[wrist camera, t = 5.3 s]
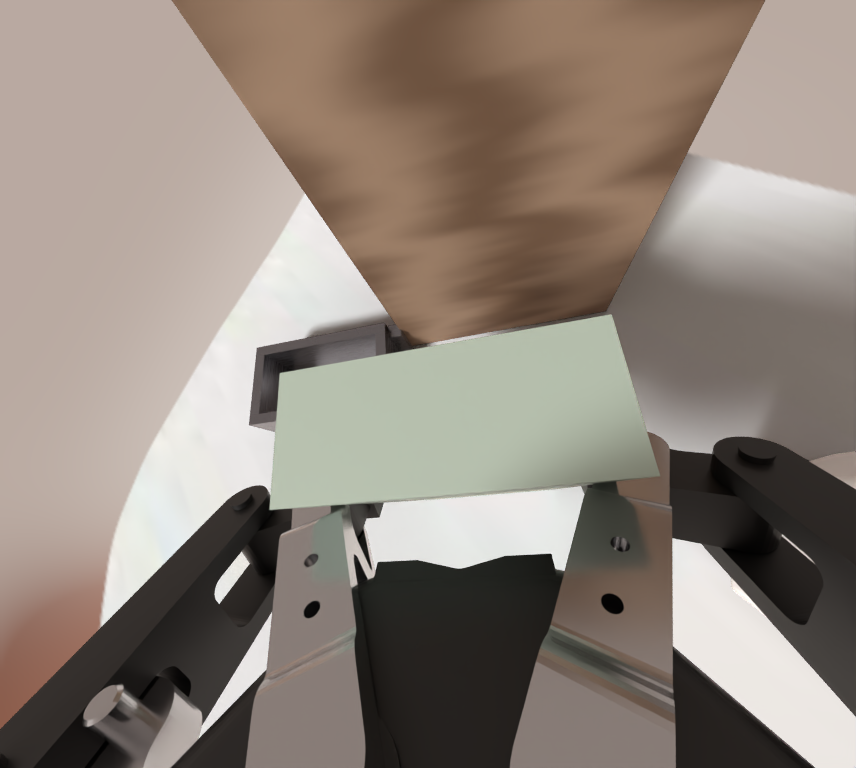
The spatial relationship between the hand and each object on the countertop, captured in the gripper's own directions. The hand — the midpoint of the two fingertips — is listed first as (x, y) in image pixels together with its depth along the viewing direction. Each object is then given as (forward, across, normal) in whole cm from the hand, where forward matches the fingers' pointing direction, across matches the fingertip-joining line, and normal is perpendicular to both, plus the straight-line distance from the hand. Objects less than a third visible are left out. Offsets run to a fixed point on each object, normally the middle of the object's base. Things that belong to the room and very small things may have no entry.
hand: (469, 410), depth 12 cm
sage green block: (+4, 0, +6) cm, 8 cm away
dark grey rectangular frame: (+8, +9, +2) cm, 12 cm away
